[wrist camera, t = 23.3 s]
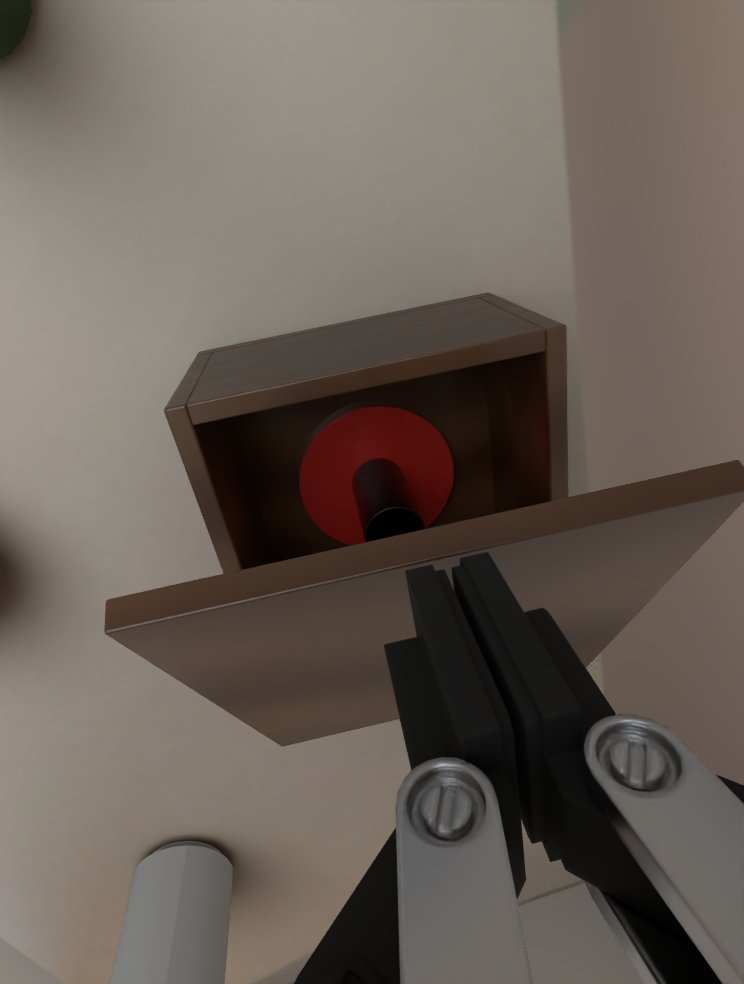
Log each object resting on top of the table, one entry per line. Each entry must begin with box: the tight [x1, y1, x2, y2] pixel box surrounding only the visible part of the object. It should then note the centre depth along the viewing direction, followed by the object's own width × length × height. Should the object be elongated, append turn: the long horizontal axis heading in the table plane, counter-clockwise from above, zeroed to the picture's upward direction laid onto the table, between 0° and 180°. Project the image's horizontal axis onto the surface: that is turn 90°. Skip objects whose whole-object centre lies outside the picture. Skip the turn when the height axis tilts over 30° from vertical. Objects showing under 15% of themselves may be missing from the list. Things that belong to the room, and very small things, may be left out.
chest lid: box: [105, 460, 744, 746], centre depth 20 cm, size 17×15×1 cm
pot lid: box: [299, 403, 454, 545], centre depth 28 cm, size 8×8×6 cm
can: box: [109, 841, 233, 984], centre depth 39 cm, size 8×8×12 cm
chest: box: [164, 293, 568, 574], centre depth 28 cm, size 17×15×9 cm
